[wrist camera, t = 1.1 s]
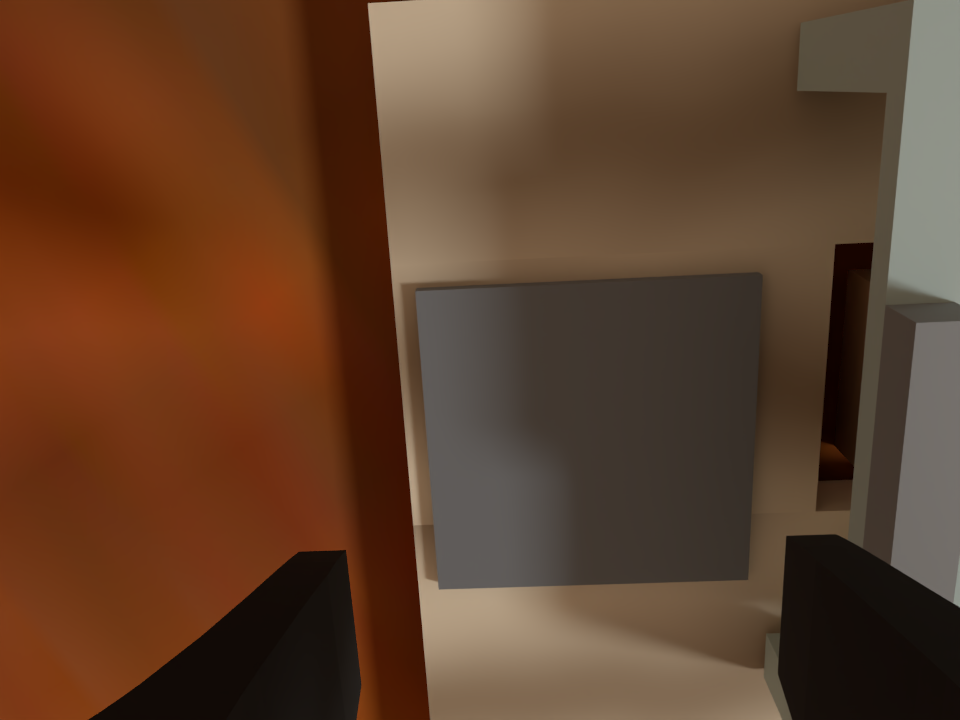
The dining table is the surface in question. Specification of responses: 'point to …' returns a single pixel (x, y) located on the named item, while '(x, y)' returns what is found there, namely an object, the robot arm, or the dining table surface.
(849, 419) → the walnut block
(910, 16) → the sled cover
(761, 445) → the puzzle board
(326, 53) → the dining table surface
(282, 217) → the dining table surface
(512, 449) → the slate pad
